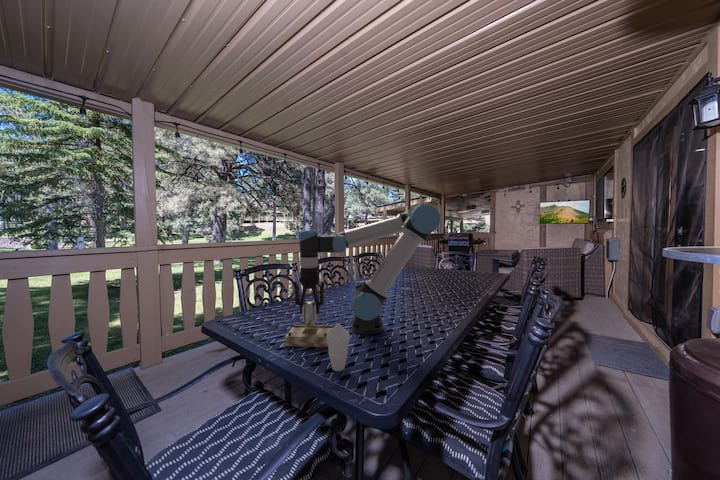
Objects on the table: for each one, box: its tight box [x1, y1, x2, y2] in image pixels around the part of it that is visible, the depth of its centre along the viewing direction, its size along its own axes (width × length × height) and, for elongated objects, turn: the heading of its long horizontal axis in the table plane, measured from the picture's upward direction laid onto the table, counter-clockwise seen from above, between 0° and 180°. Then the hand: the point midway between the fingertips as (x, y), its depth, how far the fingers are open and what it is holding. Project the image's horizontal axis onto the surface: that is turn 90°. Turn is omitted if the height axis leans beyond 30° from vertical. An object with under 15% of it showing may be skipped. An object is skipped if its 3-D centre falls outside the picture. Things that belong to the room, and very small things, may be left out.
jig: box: [284, 323, 334, 348], centre depth 116 cm, size 18×12×5 cm, turn 86°
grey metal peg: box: [304, 300, 316, 327], centre depth 116 cm, size 4×4×10 cm
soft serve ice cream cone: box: [326, 322, 351, 372], centre depth 93 cm, size 8×8×16 cm
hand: (310, 320), depth 116 cm, fingers closed on grey metal peg, 4 cm apart
